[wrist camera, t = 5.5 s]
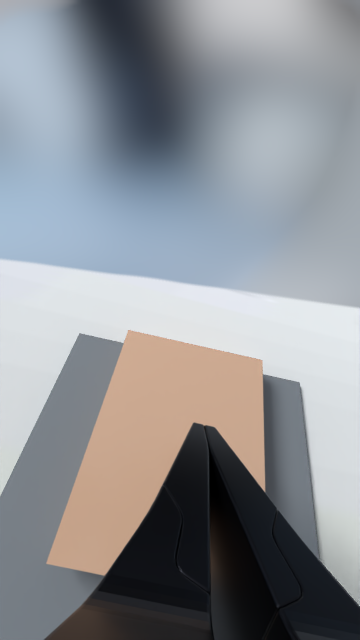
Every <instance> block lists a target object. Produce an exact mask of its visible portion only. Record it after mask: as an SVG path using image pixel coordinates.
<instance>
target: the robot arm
mask: <svg viewBox="0 0 360 640" xmlns="http://www.w3.org/2000/svg"><path fill="white" fill-rule="evenodd" d="M44 640H360V606H359V605H358V604H357V603H356V602H355V601H354V599H353V598H352V597H351V596H350V595H349V594H348V593H347V591H346V590H345V589H344V588H343V587H342V586H341V585H340V583H339V582H338V581H337V580H336V579H335V578H334V577H333V575H332V574H331V573H330V572H329V571H328V570H327V569H326V567H325V566H324V565H323V564H322V563H321V562H320V560H319V559H318V558H317V557H316V556H315V554H314V553H313V552H312V551H311V550H310V549H309V547H308V546H307V545H306V544H305V543H304V541H303V540H302V539H301V538H300V536H299V535H298V534H297V533H296V531H295V530H294V529H293V528H292V526H291V525H290V524H289V523H288V521H287V520H286V519H285V517H284V516H283V515H282V514H281V512H280V511H279V510H277V507H276V506H275V505H274V503H273V502H272V501H271V499H270V498H269V497H268V495H267V494H266V493H265V492H264V490H263V489H262V488H261V486H260V485H259V484H258V482H257V481H256V480H255V479H254V477H253V476H252V475H251V473H250V472H249V471H248V469H247V468H246V467H245V465H244V464H243V463H242V462H241V460H240V459H239V458H238V456H237V455H236V454H235V452H234V451H233V450H232V449H231V447H230V446H229V445H228V443H227V442H226V441H225V439H224V438H223V437H222V436H221V434H220V433H219V432H218V430H217V429H216V428H215V427H213V426H209V425H203V424H199V423H195V422H194V423H193V424H192V426H191V428H190V430H189V432H188V434H187V436H186V438H185V440H184V442H183V444H182V446H181V448H180V450H179V452H178V454H177V456H176V458H175V460H174V462H173V464H172V466H171V468H170V470H169V472H168V474H167V476H166V478H165V480H164V482H163V484H162V486H161V488H160V490H159V492H158V494H157V496H156V498H155V500H154V502H153V504H152V505H151V507H150V509H149V511H148V513H147V514H146V516H145V517H144V519H143V520H142V522H141V523H140V525H139V527H138V528H137V530H136V531H135V533H134V534H133V535H132V537H131V538H130V540H129V541H128V543H127V544H126V546H125V547H124V548H123V550H122V551H121V553H120V554H119V556H118V557H117V559H116V560H115V562H114V563H113V564H112V566H111V567H110V569H109V570H108V572H107V573H106V574H105V576H104V577H103V579H102V580H101V581H100V583H99V584H98V585H97V587H96V588H95V589H94V591H93V592H92V593H91V594H90V596H89V597H88V598H87V599H86V600H85V601H84V603H83V604H82V605H81V606H80V607H79V608H78V609H77V610H76V611H74V612H73V613H72V614H71V615H70V616H69V617H68V618H67V619H66V620H65V621H63V622H62V623H61V624H60V625H59V626H58V627H57V628H56V629H55V630H54V631H52V632H51V633H50V634H49V635H48V636H47V637H46V638H45V639H44Z"/></svg>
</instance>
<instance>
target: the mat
mask: <svg viewBox="0 0 360 640" xmlns="http://www.w3.org/2000/svg"><path fill="white" fill-rule="evenodd" d="M123 344H124V343H121V342H116V341H112V340H107V339H103V338H98V337H94V336H89V335H85V334H79V336H78V338H77V340H76V342H75V344H74V346H73V348H72V350H71V352H70V354H69V356H68V358H67V360H66V362H65V364H64V366H63V369H62V371H61V373H60V375H59V377H58V379H57V381H56V383H55V385H54V387H53V389H52V391H51V393H50V395H49V397H48V399H47V401H46V403H45V406H44V408H43V410H42V412H41V414H40V416H39V418H38V420H37V422H36V424H35V426H34V428H33V430H32V432H31V434H30V436H29V438H28V441H27V443H26V445H25V447H24V449H23V451H22V453H21V455H20V457H19V459H18V461H17V463H16V465H15V467H14V469H13V471H12V473H11V475H10V478H9V480H8V482H7V484H6V486H5V488H4V490H3V492H2V494H1V496H0V640H44V639H45V638H46V637H47V636H48V635H49V634H50V633H51V632H52V631H54V630H55V629H56V628H57V627H58V626H59V625H60V624H61V623H62V622H63V621H65V620H66V619H67V618H68V617H69V616H70V615H71V614H72V613H73V612H74V611H76V610H77V609H78V608H79V607H80V606H81V605H82V604H83V603H84V601H85V600H86V599H87V598H88V597H89V596H90V594H91V593H92V592H93V591H94V589H95V588H96V587H97V585H98V584H99V583H100V581H101V580H102V579H103V577H104V575H99V574H94V573H89V572H84V571H79V570H74V569H70V568H65V567H60V566H55V565H50V564H46V562H47V560H48V557H49V554H50V551H51V548H52V545H53V543H54V540H55V537H56V534H57V531H58V528H59V526H60V523H61V520H62V517H63V514H64V511H65V509H66V506H67V503H68V500H69V497H70V494H71V492H72V489H73V486H74V483H75V480H76V477H77V475H78V472H79V469H80V466H81V463H82V460H83V458H84V455H85V452H86V449H87V446H88V443H89V441H90V438H91V435H92V432H93V429H94V426H95V424H96V421H97V418H98V415H99V412H100V409H101V407H102V404H103V401H104V398H105V395H106V392H107V390H108V387H109V384H110V381H111V378H112V375H113V373H114V370H115V367H116V364H117V361H118V358H119V356H120V353H121V350H122V347H123ZM263 412H264V457H265V493H266V494H267V495H268V497H269V498H270V499H271V501H272V502H273V503H274V505H275V506H276V507H277V510H279V511H280V512H281V514H282V515H283V516H284V517H285V519H286V520H287V521H288V523H289V524H290V525H291V526H292V528H293V529H294V530H295V531H296V533H297V534H298V535H299V536H300V538H301V539H302V540H303V541H304V543H305V544H306V545H307V546H308V547H309V549H310V550H311V551H312V552H313V553H314V554H315V556H316V557H317V558H318V559H319V553H318V544H317V535H316V526H315V517H314V508H313V499H312V490H311V481H310V473H309V464H308V455H307V446H306V437H305V428H304V419H303V410H302V401H301V392H300V383H299V382H295V381H291V380H286V379H282V378H277V377H273V376H268V375H264V374H263Z"/></svg>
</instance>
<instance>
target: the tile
mask: <svg viewBox="0 0 360 640" xmlns="http://www.w3.org/2000/svg"><path fill="white" fill-rule="evenodd" d="M194 422H195V423H199V424H203V425H209V426H213V427H215V428H216V429H217V430H218V432H219V433H220V434H221V436H222V437H223V438H224V439H225V441H226V442H227V443H228V445H229V446H230V447H231V449H232V450H233V451H234V452H235V454H236V455H237V456H238V458H239V459H240V460H241V462H242V463H243V464H244V465H245V467H246V468H247V469H248V471H249V472H250V473H251V475H252V476H253V477H254V479H255V480H256V481H257V482H258V484H259V485H260V486H261V488H262V489H263V490H264V492H265V457H264V412H263V367H262V360H260V359H255V358H251V357H246V356H242V355H237V354H233V353H228V352H224V351H220V350H215V349H211V348H206V347H202V346H197V345H193V344H188V343H184V342H179V341H175V340H171V339H166V338H162V337H157V336H153V335H148V334H144V333H139V332H135V331H131V330H128V333H127V336H126V339H125V341H124V344H123V347H122V350H121V353H120V356H119V358H118V361H117V364H116V367H115V370H114V373H113V375H112V378H111V381H110V384H109V387H108V390H107V392H106V395H105V398H104V401H103V404H102V407H101V409H100V412H99V415H98V418H97V421H96V424H95V426H94V429H93V432H92V435H91V438H90V441H89V443H88V446H87V449H86V452H85V455H84V458H83V460H82V463H81V466H80V469H79V472H78V475H77V477H76V480H75V483H74V486H73V489H72V492H71V494H70V497H69V500H68V503H67V506H66V509H65V511H64V514H63V517H62V520H61V523H60V526H59V528H58V531H57V534H56V537H55V540H54V543H53V545H52V548H51V551H50V554H49V557H48V560H47V562H46V564H50V565H55V566H60V567H65V568H70V569H74V570H79V571H84V572H89V573H94V574H99V575H104V576H105V574H106V573H107V572H108V570H109V569H110V567H111V566H112V564H113V563H114V562H115V560H116V559H117V557H118V556H119V554H120V553H121V551H122V550H123V548H124V547H125V546H126V544H127V543H128V541H129V540H130V538H131V537H132V535H133V534H134V533H135V531H136V530H137V528H138V527H139V525H140V523H141V522H142V520H143V519H144V517H145V516H146V514H147V513H148V511H149V509H150V507H151V505H152V504H153V502H154V500H155V498H156V496H157V494H158V492H159V490H160V488H161V486H162V484H163V482H164V480H165V478H166V476H167V474H168V472H169V470H170V468H171V466H172V464H173V462H174V460H175V458H176V456H177V454H178V452H179V450H180V448H181V446H182V444H183V442H184V440H185V438H186V436H187V434H188V432H189V430H190V428H191V426H192V424H193V423H194Z"/></svg>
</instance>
